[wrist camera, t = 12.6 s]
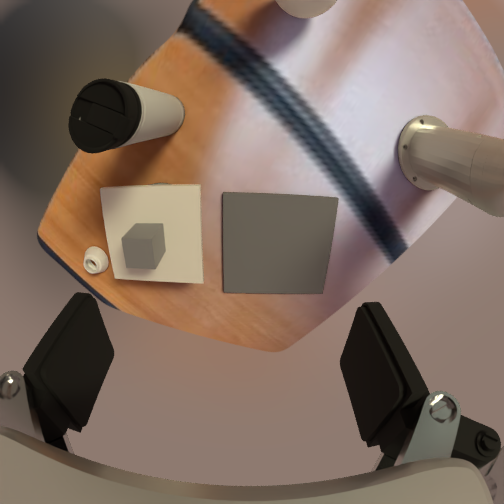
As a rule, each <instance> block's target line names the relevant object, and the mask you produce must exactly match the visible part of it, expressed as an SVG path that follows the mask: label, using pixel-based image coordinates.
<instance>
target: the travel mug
mask: <svg viewBox="0 0 504 504" xmlns="http://www.w3.org/2000/svg"><path fill="white" fill-rule="evenodd" d="M77 96H78V97H77V98H76V99H75V102H74V104H73V106H72V109H71V116H70V117H69V132H70V135H71V138H72V140H73V142H74V143H75V145H76V146H77V147H78V148H79V149H81V150H82V151H84V152H87V153H100V152H103V151H106V150H110V149H116V148H119V147H123V146H127V145H130V144H134V143H138V142H142V141H146V140H151V139H155V138H159V137H164V136H168V135H171V134H173V133H175V132H176V131H177V130H178V129H179V128H180V127H181V125H182V124H183V121H184V117H185V109H184V106H183V104H182V102H181V101H180V100H179V99H178V98H177V97H175V96H173V95H169V94H166V93H163V92H159V91H156V90H153V89H149V88H145V87H142V86H138V85H134V84H130V83H126V82H122V81H114V80H110V79H98V80H94V81H92V82H90V83H88V84H87V85H86V86H84V87H83V89H82V90H81V91H80V93H79V94H78V95H77Z"/></svg>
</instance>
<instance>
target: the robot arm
mask: <svg viewBox="0 0 504 504" xmlns="http://www.w3.org/2000/svg"><path fill="white" fill-rule="evenodd" d="M403 146H404V147H403ZM398 157H399V163H400V166H401V169H402V171H403V173H404V175H405V176H406V178H407V179H408V180H409V181H410V182H411V183H412V184H413V185H415V186H416V187H418V188H421V189H423V190H435V189H438V188H441V189H443V190H445V191H447V192H449V193H451V194H453V195H455V196H457V197H459V198H461V199H463V200H465V201H467V202H468V203H470V204H472V205H474V206H476V207H477V208H479V209H481V210H483V211H485V212H487V213H488V214H490V215H493V216H496V217H504V139H500V138H496V137H491V136H487V135H483V134H478V133H474V132H469V131H464V130H458V129H453V128H449V127H448V126H447V125H446V124H445V123H444V122H443V121H442V120H440V119H438V118H436V117H433V116H427V115H423V116H418V117H416V118H414V119H412V120H411V121H410V122H409V123H408V124H407V125H406V126H405V127H404V129H403V131H402V133H401V136H400V139H399V145H398ZM113 358H114V349H113V346H112V344H111V341H110V339H109V336H108V333H107V331H106V328H105V325H104V322H103V319H102V317H101V314H100V311H99V308H98V304H97V301H96V299H95V298H93V297H92V295H91V294H89V293H79V292H77V293H76V294H74V296H73V297H72V298H71V299H70V301H69V302H68V303H67V305H66V306H65V307H64V309H63V310H62V311H61V313H60V314H59V315H58V317H57V318H56V320H55V321H54V322H53V323H52V325H51V326H50V328H49V329H48V331H47V332H46V333H45V335H44V336H43V338H42V339H41V341H40V342H39V344H38V346H37V347H36V348H35V350H34V351H33V353H32V354H31V356H30V357H29V359H28V361H27V362H26V364H25V365H24V367H23V371H24V372H25V374H24V376H22V375H21V374H20V373H19V372H17V371H8V372H6V373H4V374H3V375H1V376H0V504H504V446H503V447H502V448H501V442H500V438H499V436H498V434H497V432H496V431H494V430H493V429H492V428H490V427H488V426H485V425H483V424H480V423H478V422H476V421H473V420H471V419H469V418H467V417H464V416H462V415H461V408H460V405H459V403H458V401H457V400H456V398H455V397H454V396H452V395H451V394H449V393H447V392H443V391H436V392H433V393H431V394H430V393H429V391H428V388H427V386H426V384H425V382H424V380H423V379H422V376H421V374H420V372H419V370H418V369H417V367H416V365H415V363H414V361H413V359H412V357H411V355H410V354H409V352H408V350H407V348H406V346H405V345H404V343H403V341H402V339H401V337H400V336H399V334H398V332H397V331H396V329H395V327H394V325H393V324H392V322H391V320H390V318H389V317H388V315H387V313H386V312H385V310H384V308H383V307H382V305H381V304H380V303H379V302H365V303H363V304H362V306H361V307H358V309H357V311H356V314H355V317H354V321H353V324H352V327H351V330H350V333H349V336H348V339H347V341H346V344H345V347H344V350H343V353H342V355H341V358H340V367H341V370H342V373H343V377H344V380H345V383H346V387H347V390H348V393H349V397H350V400H351V403H352V407H353V411H354V414H355V417H356V421H357V425H358V428H359V432H360V435H361V439H362V440H363V441H366V443H367V446H368V447H372V446H376V445H380V449H381V452H382V453H381V454H380V456H379V458H378V460H377V462H376V464H375V465H374V467H373V469H372V471H371V472H369V473H364V474H360V475H355V476H350V477H344V478H338V479H333V480H326V481H319V482H311V483H303V484H292V485H277V486H223V485H208V484H198V483H189V482H181V481H174V480H168V479H162V478H156V477H151V476H146V475H142V474H137V473H133V472H129V471H125V470H121V469H117V468H114V467H110V466H107V465H104V464H100V463H97V462H94V461H91V460H88V459H85V458H82V457H80V456H77V455H75V454H74V452H73V449H72V447H71V444H70V442H69V439H68V436H67V433H66V431H67V429H68V428H69V429H72V430H75V431H77V432H81V430H82V427H84V426H86V424H87V422H88V420H89V417H90V414H91V412H92V409H93V406H94V404H95V401H96V399H97V396H98V393H99V391H100V389H101V386H102V384H103V381H104V379H105V376H106V374H107V372H108V370H109V367H110V365H111V363H112V360H113Z"/></svg>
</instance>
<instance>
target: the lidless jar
mask: <svg viewBox="0 0 504 504" xmlns="http://www.w3.org/2000/svg"><path fill="white" fill-rule="evenodd" d="M90 259H91V260H93V261H94V262H95V263H96V265H97V266H95V265H94V264H92V262H91V261H90ZM108 264H109V261H108V257H107V255H106V253H105V252H104V251H103V250H102V249H101V248H98V247H94V246H92V247H90V248H88V249H87V250H86V252H85V256H84V267H85V269H86V270H87V271H88V272H89V273H92V274H94V273H100V272H103V271H105V270H106V269H107V267H108Z"/></svg>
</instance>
